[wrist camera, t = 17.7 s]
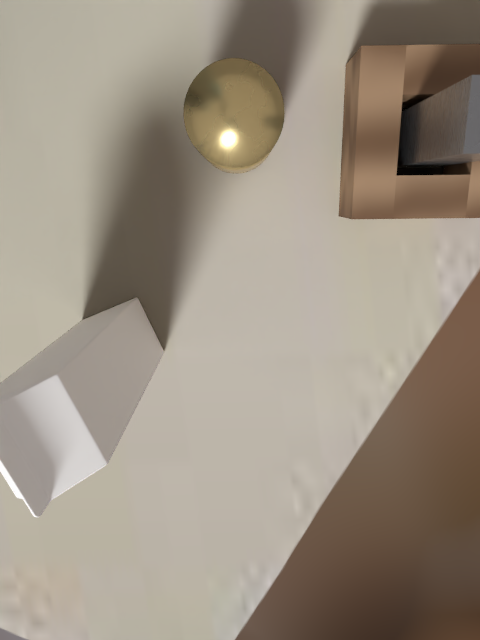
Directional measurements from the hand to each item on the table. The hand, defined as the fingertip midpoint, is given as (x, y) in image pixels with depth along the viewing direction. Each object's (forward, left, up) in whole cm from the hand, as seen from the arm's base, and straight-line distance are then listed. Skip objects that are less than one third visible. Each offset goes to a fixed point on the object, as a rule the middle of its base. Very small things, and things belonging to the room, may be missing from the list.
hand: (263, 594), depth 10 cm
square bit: (-13, +14, -33) cm, 38 cm away
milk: (+4, -12, -33) cm, 35 cm away
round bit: (-14, -1, -33) cm, 36 cm away
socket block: (-13, +14, -33) cm, 38 cm away
